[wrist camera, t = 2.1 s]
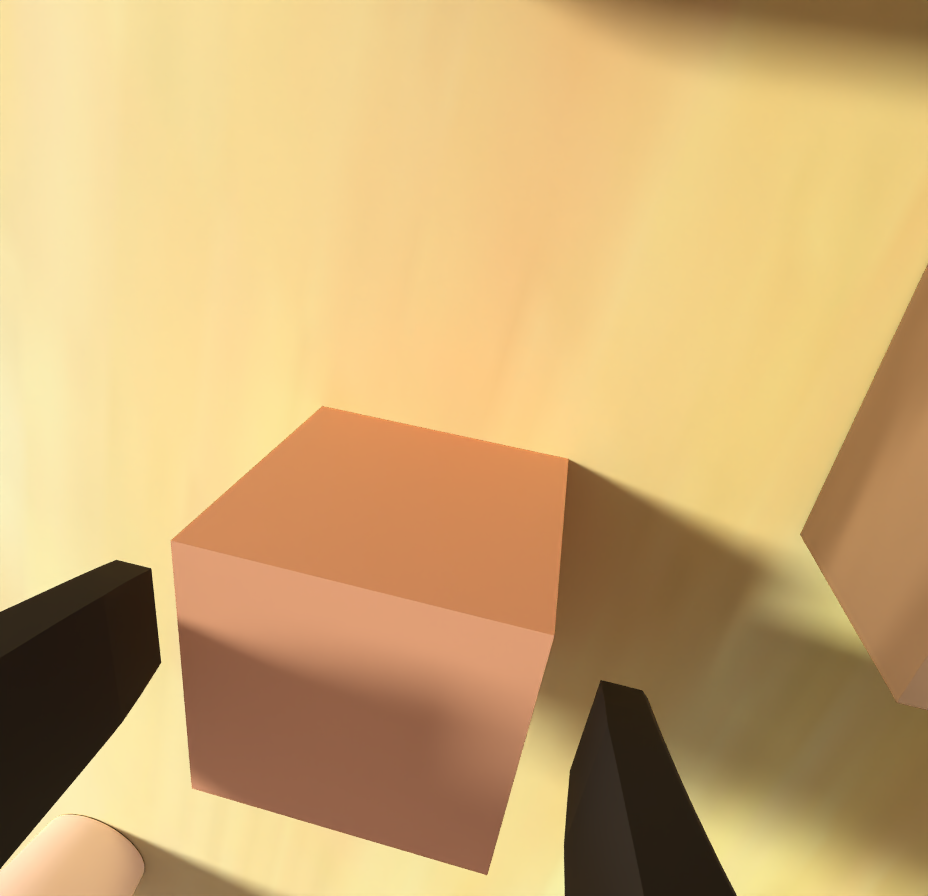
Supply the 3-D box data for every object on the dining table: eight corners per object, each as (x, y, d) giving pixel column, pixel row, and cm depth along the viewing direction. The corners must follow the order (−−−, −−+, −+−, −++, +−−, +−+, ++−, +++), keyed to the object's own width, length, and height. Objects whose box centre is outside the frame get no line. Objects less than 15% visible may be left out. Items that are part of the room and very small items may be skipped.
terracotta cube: (568, 457, 12) (554, 635, 7) (520, 648, 14) (487, 875, 9) (323, 404, 12) (171, 540, 8) (314, 596, 14) (192, 788, 10)
